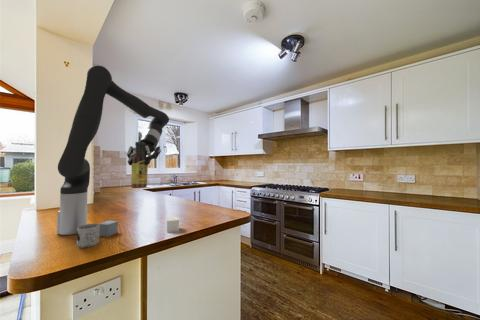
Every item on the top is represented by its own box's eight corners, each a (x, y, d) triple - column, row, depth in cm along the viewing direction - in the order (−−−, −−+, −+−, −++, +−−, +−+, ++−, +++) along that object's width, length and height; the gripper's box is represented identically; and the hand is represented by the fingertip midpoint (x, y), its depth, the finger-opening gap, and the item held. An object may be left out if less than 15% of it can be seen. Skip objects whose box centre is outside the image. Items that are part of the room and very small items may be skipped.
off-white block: (167, 232, 86) (167, 221, 86) (166, 228, 91) (166, 218, 91) (178, 231, 88) (178, 219, 88) (177, 227, 93) (178, 217, 93)
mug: (80, 242, 75) (80, 224, 75) (101, 239, 78) (101, 222, 78) (70, 253, 66) (70, 233, 66) (94, 249, 69) (94, 230, 69)
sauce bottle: (140, 188, 81) (140, 141, 81) (127, 188, 82) (128, 141, 82) (150, 187, 87) (151, 142, 88) (138, 186, 89) (139, 143, 89)
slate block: (97, 235, 82) (98, 223, 82) (108, 231, 87) (108, 220, 87) (107, 236, 81) (107, 224, 81) (117, 232, 86) (117, 221, 86)
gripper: (132, 133, 92) (117, 157, 80) (163, 133, 93) (152, 157, 81) (137, 145, 98) (124, 170, 86) (166, 145, 98) (157, 170, 86)
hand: (137, 164), depth 83 cm, fingers closed on sauce bottle, 6 cm apart
